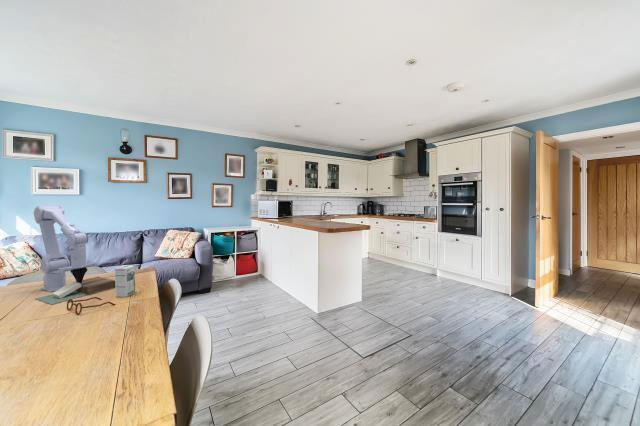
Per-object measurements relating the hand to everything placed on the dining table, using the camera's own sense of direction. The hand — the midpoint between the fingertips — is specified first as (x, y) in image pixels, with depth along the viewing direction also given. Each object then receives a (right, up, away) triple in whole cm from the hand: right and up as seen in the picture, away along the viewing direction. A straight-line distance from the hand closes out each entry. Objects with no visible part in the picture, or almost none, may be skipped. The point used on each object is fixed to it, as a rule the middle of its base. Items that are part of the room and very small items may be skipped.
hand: (79, 283), depth 132 cm
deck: (+2, -5, +6) cm, 8 cm away
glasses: (+21, -7, -17) cm, 28 cm away
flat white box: (-2, -3, -4) cm, 5 cm away
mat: (-3, -5, -6) cm, 9 cm away
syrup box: (+25, -6, -2) cm, 26 cm away
